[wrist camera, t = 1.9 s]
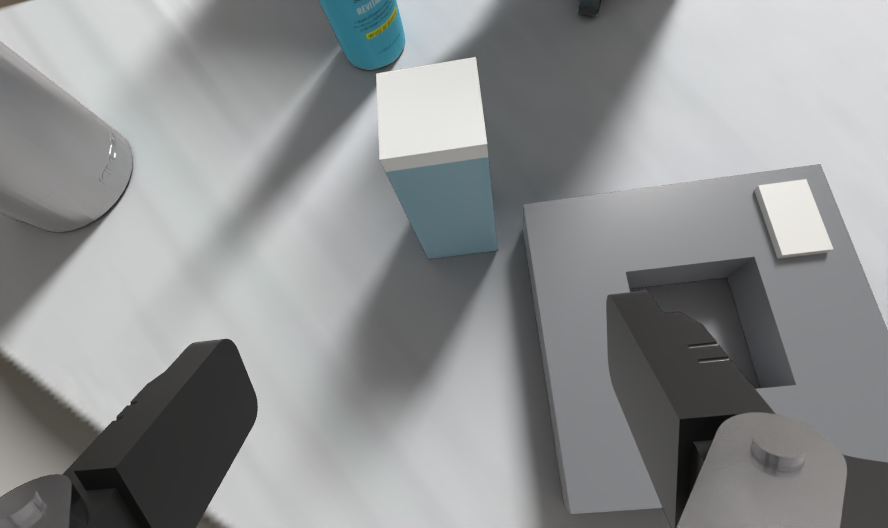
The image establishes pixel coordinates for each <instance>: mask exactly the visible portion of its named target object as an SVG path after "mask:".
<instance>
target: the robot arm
mask: <svg viewBox="0 0 888 528" xmlns="http://www.w3.org/2000/svg"><path fill="white" fill-rule="evenodd" d="M132 162H133V157H132V152H131V148H130V146H129V144H128V142H127V140H126V139H125V138H124V137H123V136H122V135H121V134H120V133H119V132H117V131H116V130H115V129H113V128H112V127H111V126H110V125H108V124H107V123H106V122H104V121H103V120H102V119H100V118H99V117H98V116H97V115H95V114H94V113H93V112H91V111H90V110H89V109H88V108H86V107H85V106H84V105H82V104H81V103H80V102H79V101H78V100H76V99H75V98H74V97H72V96H71V95H70V94H68V93H67V92H66V91H65V90H63V89H62V88H61V87H59V86H58V85H57V84H55V83H54V82H53V81H52V80H50V79H49V78H48V77H46V76H45V75H44V74H42V73H41V72H40V71H39V70H37V69H36V68H35V67H33V66H32V65H31V64H29V63H28V62H27V61H25V60H24V59H23V58H22V57H20V56H19V55H18V54H16V53H15V52H14V51H12V50H11V49H10V48H9V47H7V46H6V45H5V44H3V43H2V42H1V41H0V214H2V215H4V216H7V217H9V218H11V219H14V220H16V221H21V220H22V221H25V222H27V223H29V224H31V225H34V226H36V227H38V228H41V229H44V230H46V231H52V232H64V231H72V230H75V229H78V228H81V227H83V226H85V225H87V224H89V223H91V222H93V221H95V220H96V219H98V218H99V217H100V216H102V215H103V214H104V213H106V212H107V211H108V210H109V209H110V208H111V207H112V206H113V205H114V204H115V203H116V201H117V200H118V198H119V197H120V196H121V194H122V193H123V191H124V189H125V187H126V185H127V183H128V181H129V178H130V175H131V171H132ZM606 319H607V351H608V366H609V373H610V378H611V382H612V386H613V389H614V391H615V394H616V396H617V399H618V401H619V404H620V406H621V408H622V411H623V413H624V416H625V418H626V420H627V423H628V425H629V428H630V430H631V433H632V435H633V437H634V440H635V442H636V445H637V447H638V449H639V452H640V454H641V457H642V459H643V462H644V464H645V466H646V469H647V471H648V474H649V476H650V479H651V481H652V483H653V486H654V488H655V491H656V493H657V495H658V498H659V500H660V503H661V505H662V508H663V510H664V512H665V515H666V517H667V520H668V522H669V525H670V527H671V528H888V462H881V461H874V460H867V459H861V458H856V457H851V456H847V455H844V454H842V453H841V451H840V450H839V449H838V448H837V447H836V445H835V444H834V443H833V442H832V441H831V440H829V439H828V438H827V437H826V436H825V435H823V434H822V433H820V432H819V431H817V430H816V429H814V428H812V427H810V426H809V425H807V424H804V423H802V422H800V421H797V420H795V419H792V418H789V417H785V416H781V415H777V414H775V412H774V411H773V410H772V409H771V408H770V406H769V405H768V404H767V403H766V402H765V400H764V399H763V398H762V397H761V395H760V394H759V393H758V392H757V391H756V389H755V388H754V387H753V386H752V384H751V383H750V382H749V381H748V380H747V378H746V377H745V376H744V375H743V373H742V372H741V371H740V370H739V369H738V367H737V366H736V365H735V364H734V362H733V361H732V360H729V358H728V355H727V354H726V353H725V352H724V350H723V349H722V348H721V347H720V345H717V342H716V341H715V339H714V338H713V337H712V336H711V334H710V333H709V332H708V331H707V330H706V328H705V327H704V326H703V325H702V324H700V323H699V322H697V321H695V320H693V319H692V318H690V317H688V316H686V315H685V314H683V313H681V312H672V313H664V312H663V311H662V310H661V308H660V307H659V305H658V304H657V303H656V301H655V300H654V298H653V297H652V296H651V294H650V293H649V292H648V291H647V290H644V291H635V292H627V293H618V294H610V295H608V296H607V300H606ZM257 409H258V405H257V397H256V394H255V391H254V389H253V386H252V384H251V381H250V379H249V376H248V374H247V371H246V369H245V366H244V364H243V361H242V359H241V356H240V354H239V351H238V349H237V347H236V345H235V344H234V342H233V341H231V340H229V339H220V340H212V341H203V342H195V343H192V344H190V345H189V346H188V347H187V348H186V349H185V350H184V352H183V353H182V354H181V355H180V356H179V357H178V358H177V359H176V360H175V361H174V362H173V363H172V365H171V366H170V367H169V368H168V369H167V370H166V371H165V372H164V373H162V374H161V375H160V376H158V377H157V378H155V379H154V380H152V381H151V382H150V383H148V384H147V385H146V386H145V387H144V388H143V389H142V390H141V391H140V392H139V393H138V395H137V396H136V397H135V398H134V399H133V400H132V401H131V405H129V406H126V407H125V408H124V409H123V411H122V412H121V413H120V414H119V415H118V416H117V420H116V421H112V422H111V423H110V424H109V425H108V427H107V428H106V429H105V430H104V431H103V432H102V433H101V434H100V435H99V436H98V437H97V438H96V439H95V440H94V442H93V443H92V444H91V445H90V446H89V447H88V448H87V449H86V450H85V451H84V452H83V453H82V454H81V455H80V456H79V457H78V459H77V460H76V461H75V462H74V463H73V464H72V465H71V466H70V467H69V468H68V469H67V470H66V471H65V472H64V473H63V475H59V474H58V475H57V474H55V475H48V476H44V477H40V478H37V479H34V480H32V481H29V482H27V483H24V484H23V485H20V486H18V487H16V488H14V489H13V490H11V491H9V492H8V493H6V494H4V495H3V496H1V497H0V528H196V526H197V525H198V523H199V521H200V519H201V518H202V516H203V514H204V512H205V510H206V509H207V507H208V505H209V503H210V502H211V500H212V498H213V496H214V494H215V493H216V491H217V489H218V487H219V486H220V484H221V482H222V480H223V478H224V477H225V475H226V473H227V471H228V470H229V468H230V466H231V464H232V462H233V461H234V459H235V457H236V455H237V453H238V452H239V450H240V448H241V446H242V445H243V443H244V441H245V439H246V437H247V436H248V434H249V432H250V430H251V429H252V427H253V425H254V423H255V420H256V417H257Z"/></svg>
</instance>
